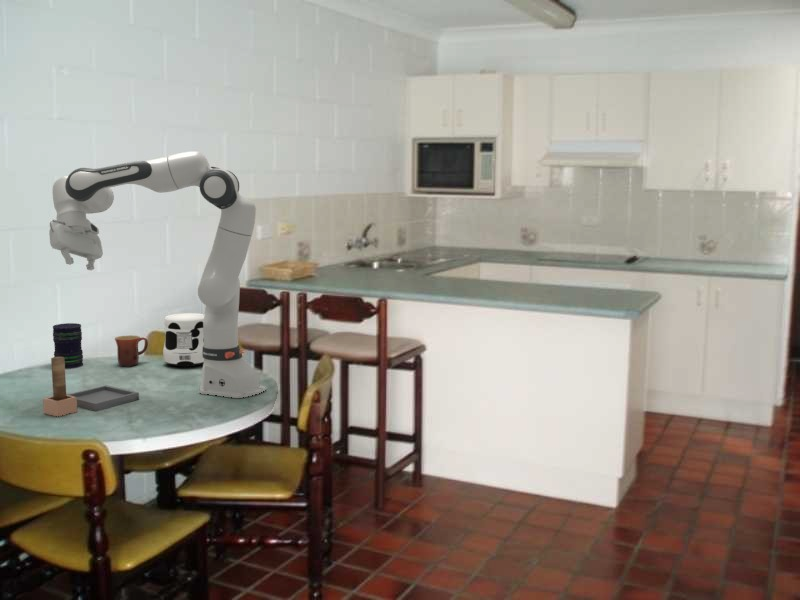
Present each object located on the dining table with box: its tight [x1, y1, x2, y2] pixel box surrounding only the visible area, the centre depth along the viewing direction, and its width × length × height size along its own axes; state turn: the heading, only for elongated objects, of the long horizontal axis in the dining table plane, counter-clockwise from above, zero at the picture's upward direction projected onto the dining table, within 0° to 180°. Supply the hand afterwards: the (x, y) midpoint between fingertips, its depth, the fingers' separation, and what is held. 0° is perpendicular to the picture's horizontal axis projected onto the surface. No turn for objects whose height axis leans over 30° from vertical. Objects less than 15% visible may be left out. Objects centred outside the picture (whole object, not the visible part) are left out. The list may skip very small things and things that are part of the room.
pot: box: [42, 394, 78, 418], centre depth 253 cm, size 7×7×4 cm
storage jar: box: [52, 322, 84, 370], centre depth 312 cm, size 10×10×15 cm
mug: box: [114, 335, 149, 367], centre depth 316 cm, size 12×9×10 cm
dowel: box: [50, 357, 67, 401], centre depth 252 cm, size 4×4×16 cm
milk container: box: [162, 312, 205, 367], centre depth 316 cm, size 17×17×18 cm
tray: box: [66, 384, 140, 412], centre depth 266 cm, size 16×16×2 cm
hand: (80, 266), depth 266 cm, fingers open, 8 cm apart
